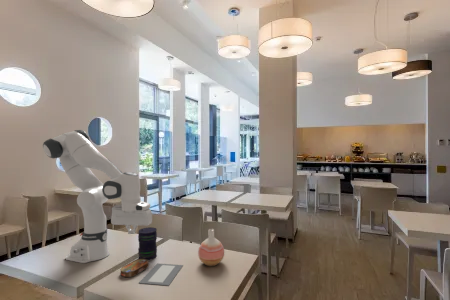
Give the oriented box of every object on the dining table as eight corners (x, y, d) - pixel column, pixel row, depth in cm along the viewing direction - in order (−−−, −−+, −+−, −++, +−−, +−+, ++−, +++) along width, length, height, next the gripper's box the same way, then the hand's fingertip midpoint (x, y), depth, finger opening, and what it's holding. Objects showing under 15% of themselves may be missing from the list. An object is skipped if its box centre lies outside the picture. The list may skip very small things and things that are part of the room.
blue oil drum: (156, 252, 142) (156, 226, 142) (157, 259, 133) (157, 231, 133) (138, 254, 139) (138, 228, 139) (137, 261, 130) (137, 233, 130)
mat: (138, 283, 108) (138, 282, 108) (157, 263, 127) (157, 263, 127) (168, 285, 106) (168, 285, 106) (182, 265, 125) (182, 265, 125)
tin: (129, 273, 112) (116, 268, 115) (129, 280, 112) (116, 275, 115) (152, 260, 125) (140, 256, 129) (151, 266, 125) (139, 262, 129)
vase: (229, 261, 130) (228, 228, 130) (216, 272, 118) (215, 235, 118) (207, 256, 136) (207, 224, 137) (193, 266, 124) (192, 231, 125)
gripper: (107, 206, 118) (108, 235, 118) (147, 207, 115) (147, 236, 114) (115, 203, 124) (116, 231, 124) (153, 204, 121) (153, 232, 121)
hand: (131, 233), depth 119 cm, fingers closed
